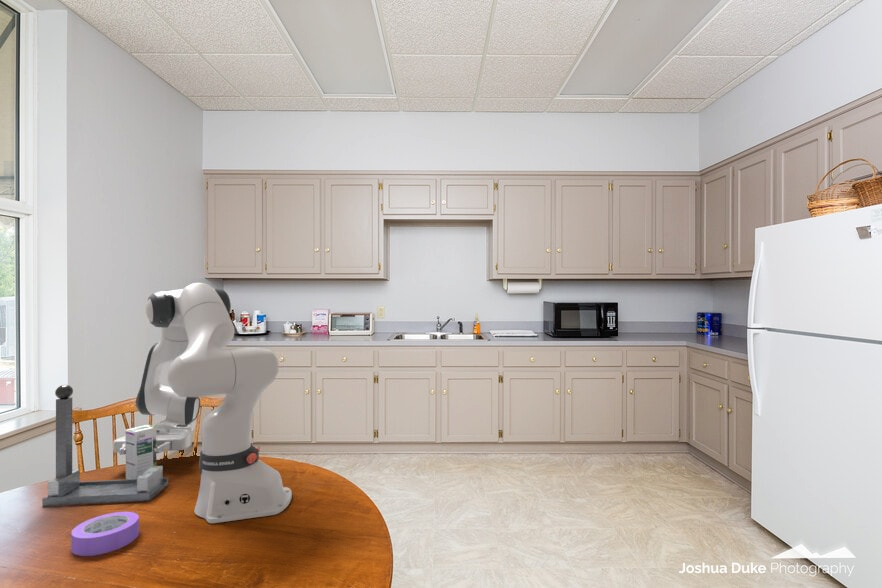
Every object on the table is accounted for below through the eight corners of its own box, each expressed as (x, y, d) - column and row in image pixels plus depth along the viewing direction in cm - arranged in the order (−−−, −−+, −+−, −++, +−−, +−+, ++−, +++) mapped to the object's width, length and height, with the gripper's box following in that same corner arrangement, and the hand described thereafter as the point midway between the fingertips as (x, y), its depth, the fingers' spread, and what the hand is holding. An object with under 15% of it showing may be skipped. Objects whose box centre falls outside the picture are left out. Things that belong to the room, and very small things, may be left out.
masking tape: (72, 539, 99) (72, 521, 99) (136, 522, 106) (136, 506, 106) (70, 564, 90) (70, 544, 90) (141, 544, 97) (141, 526, 97)
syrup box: (135, 483, 128) (135, 431, 128) (125, 479, 131) (125, 428, 131) (156, 476, 132) (156, 426, 132) (146, 472, 136) (146, 423, 136)
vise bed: (168, 484, 127) (168, 464, 127) (149, 501, 117) (149, 478, 117) (70, 489, 124) (70, 468, 124) (42, 506, 114) (42, 483, 114)
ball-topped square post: (81, 485, 123) (81, 382, 123) (60, 498, 115) (60, 387, 115) (67, 486, 123) (67, 382, 123) (45, 499, 115) (45, 388, 115)
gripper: (127, 427, 143) (100, 441, 129) (196, 425, 146) (176, 438, 132) (127, 447, 143) (100, 464, 129) (196, 445, 146) (176, 460, 132)
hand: (139, 451), depth 131 cm, fingers closed on syrup box, 8 cm apart
